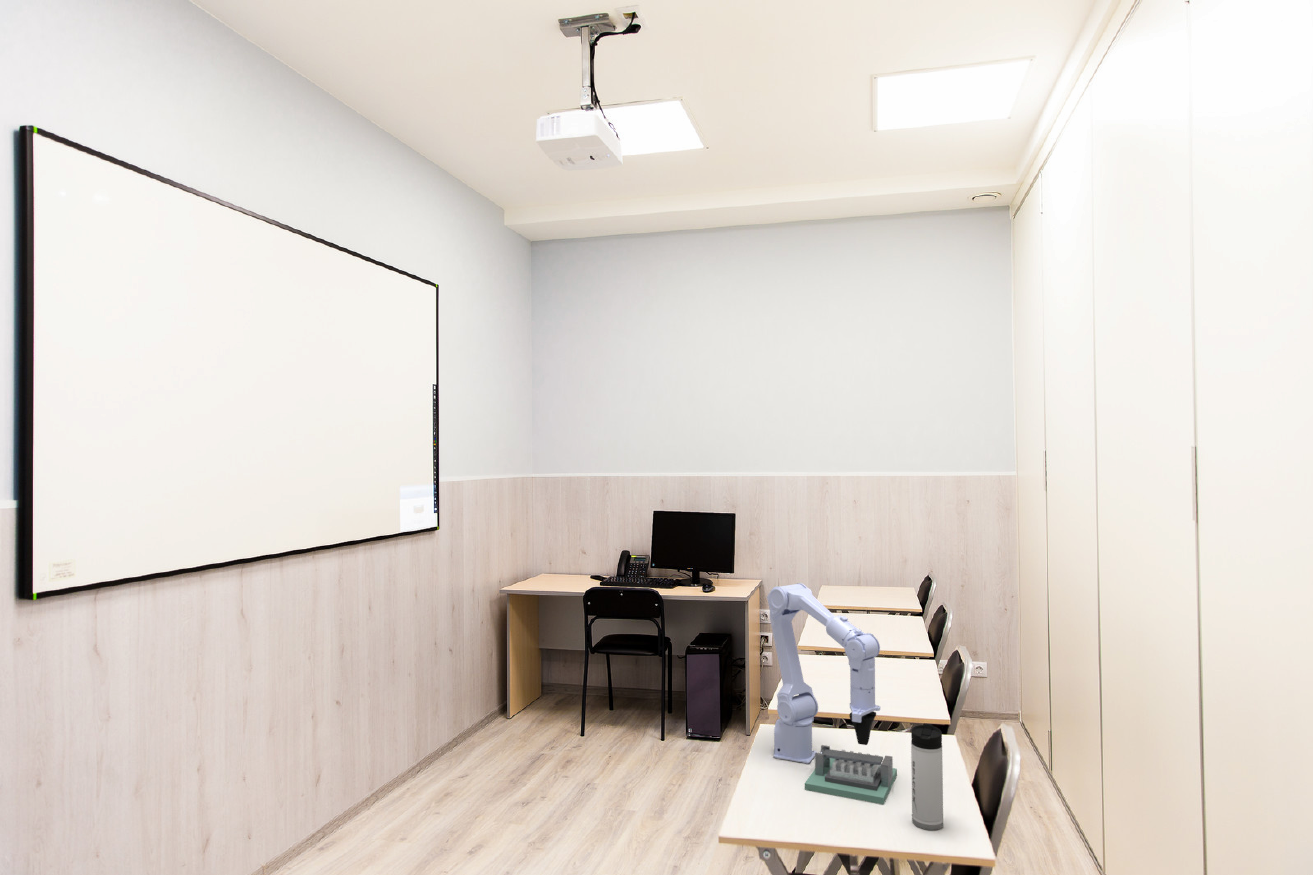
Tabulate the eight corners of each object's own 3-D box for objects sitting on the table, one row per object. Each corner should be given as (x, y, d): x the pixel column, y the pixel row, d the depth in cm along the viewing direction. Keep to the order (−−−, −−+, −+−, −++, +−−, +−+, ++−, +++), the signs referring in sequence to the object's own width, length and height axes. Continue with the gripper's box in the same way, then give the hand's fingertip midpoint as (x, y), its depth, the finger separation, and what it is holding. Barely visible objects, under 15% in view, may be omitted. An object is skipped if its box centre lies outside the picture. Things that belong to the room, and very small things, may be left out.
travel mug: (944, 819, 167) (943, 725, 167) (941, 833, 161) (940, 735, 161) (914, 814, 170) (913, 721, 170) (910, 827, 164) (909, 731, 164)
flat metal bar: (818, 757, 188) (818, 753, 188) (822, 751, 191) (822, 747, 191) (880, 766, 181) (879, 761, 181) (883, 760, 185) (883, 755, 185)
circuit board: (804, 789, 182) (804, 778, 182) (823, 762, 198) (823, 752, 198) (883, 804, 174) (883, 793, 174) (896, 774, 190) (896, 764, 190)
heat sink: (813, 777, 185) (813, 756, 185) (823, 762, 194) (823, 742, 194) (886, 790, 178) (886, 768, 178) (894, 774, 187) (893, 753, 187)
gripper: (873, 697, 178) (874, 757, 177) (885, 680, 191) (885, 736, 190) (842, 692, 181) (843, 751, 181) (856, 676, 194) (856, 731, 193)
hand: (863, 743), depth 186 cm, fingers closed
